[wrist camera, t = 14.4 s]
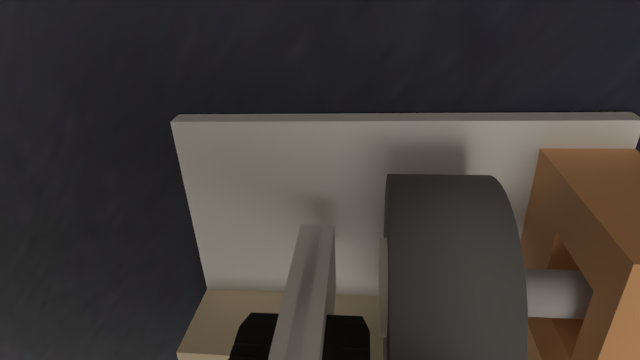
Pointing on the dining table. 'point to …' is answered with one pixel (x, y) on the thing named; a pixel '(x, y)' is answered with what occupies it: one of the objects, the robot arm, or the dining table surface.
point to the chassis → (369, 202)
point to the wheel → (462, 273)
